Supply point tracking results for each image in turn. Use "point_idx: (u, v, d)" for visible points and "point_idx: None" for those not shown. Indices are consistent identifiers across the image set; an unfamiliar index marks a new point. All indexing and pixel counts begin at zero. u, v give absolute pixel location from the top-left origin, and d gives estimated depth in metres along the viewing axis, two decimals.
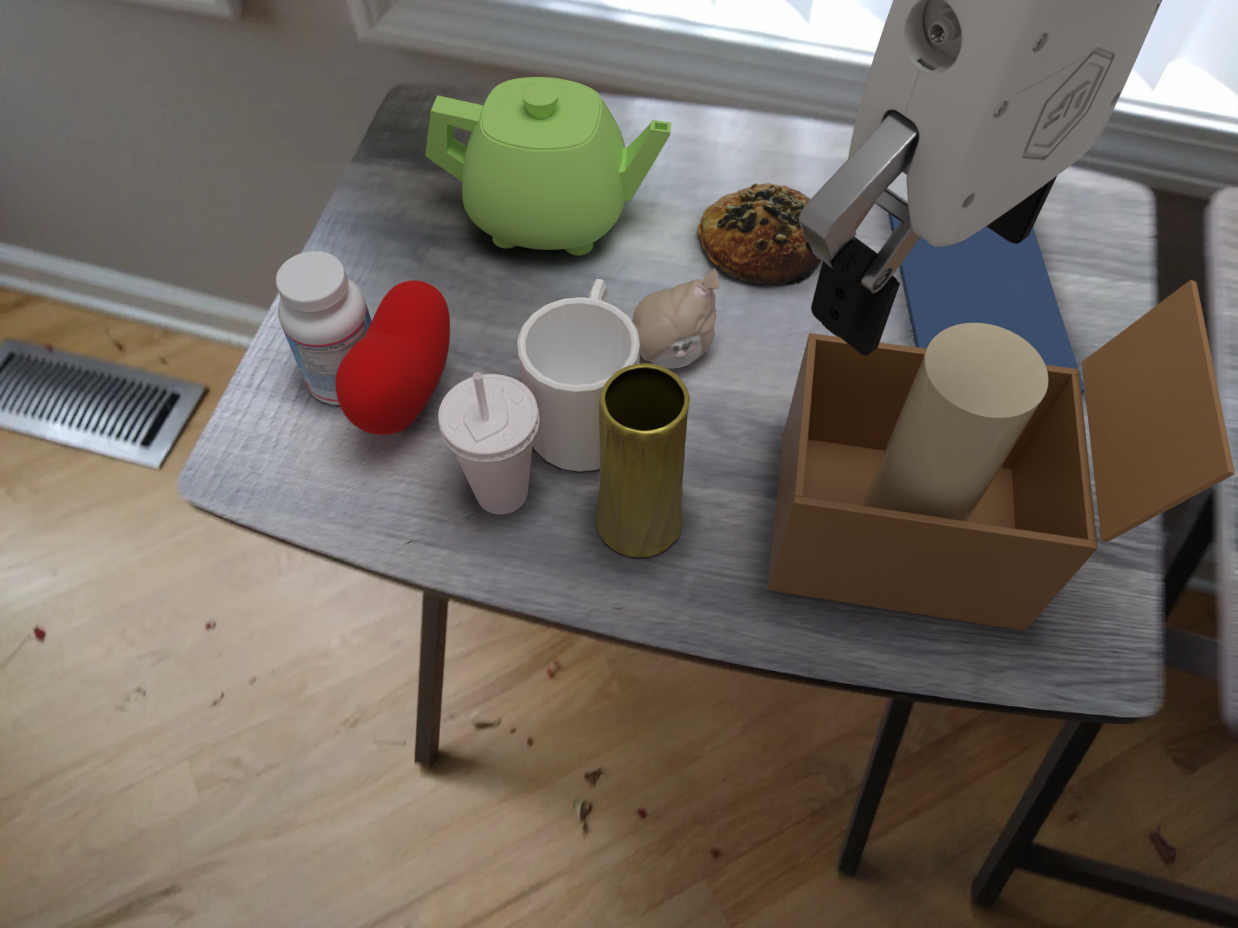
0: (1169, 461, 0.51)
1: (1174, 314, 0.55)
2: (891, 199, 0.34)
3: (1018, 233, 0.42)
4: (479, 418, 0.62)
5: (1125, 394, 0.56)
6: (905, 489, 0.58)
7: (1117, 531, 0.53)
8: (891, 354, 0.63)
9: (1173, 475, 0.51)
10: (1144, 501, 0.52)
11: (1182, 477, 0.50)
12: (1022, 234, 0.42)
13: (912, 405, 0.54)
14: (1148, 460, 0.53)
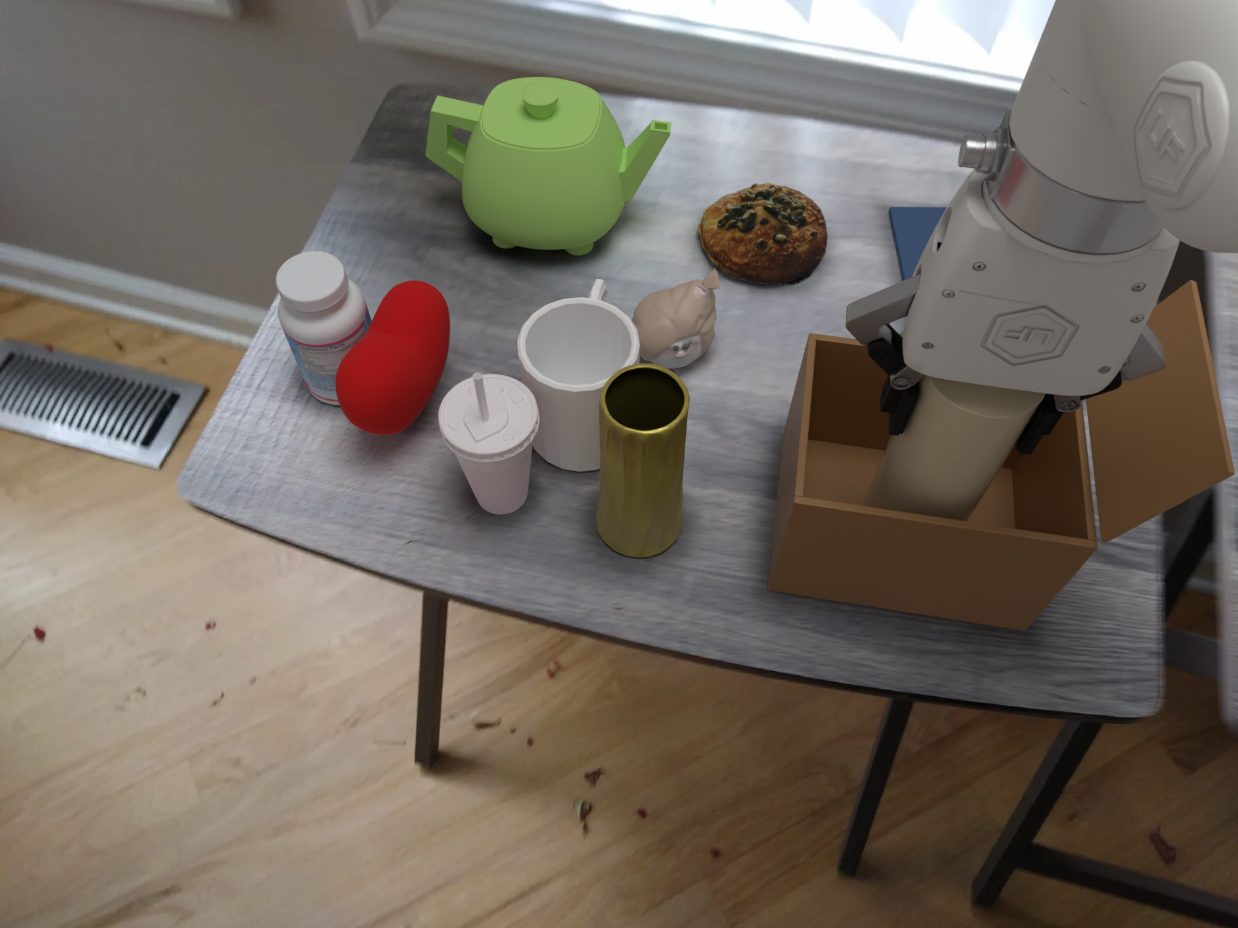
0: (1169, 461, 0.51)
1: (1174, 314, 0.55)
2: None
3: (1021, 445, 0.54)
4: (479, 418, 0.62)
5: (1125, 394, 0.56)
6: (905, 489, 0.58)
7: (1117, 531, 0.53)
8: None
9: (1173, 475, 0.51)
10: (1144, 501, 0.52)
11: (1182, 477, 0.50)
12: (1024, 448, 0.54)
13: None
14: (1148, 460, 0.53)
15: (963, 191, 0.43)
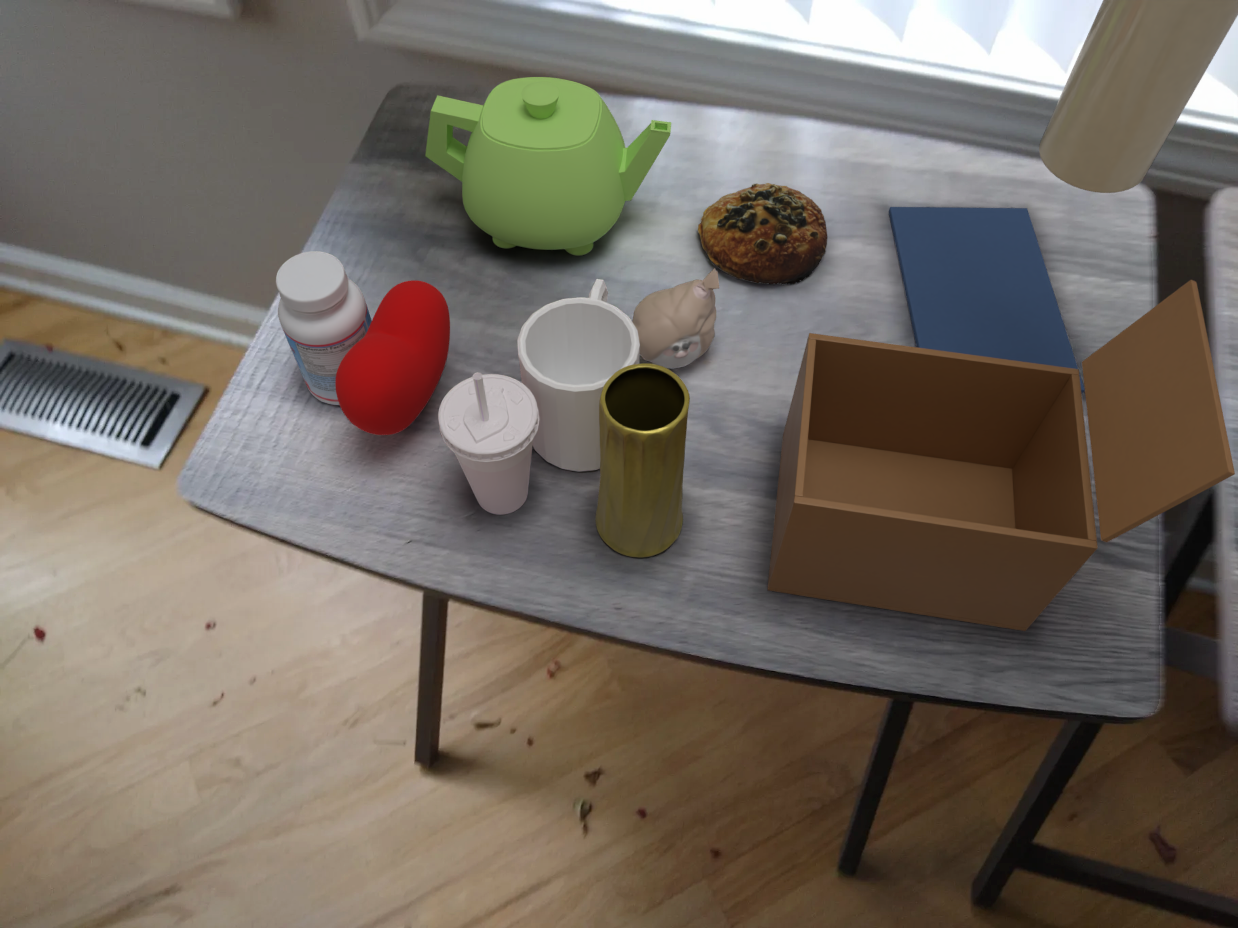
0: (1169, 461, 0.51)
1: (1174, 314, 0.55)
2: None
3: None
4: (479, 418, 0.62)
5: (1125, 394, 0.56)
6: (1139, 22, 0.50)
7: (1117, 531, 0.53)
8: (891, 354, 0.63)
9: (1173, 475, 0.51)
10: (1144, 501, 0.52)
11: (1182, 477, 0.50)
12: None
13: None
14: (1148, 460, 0.53)
15: None
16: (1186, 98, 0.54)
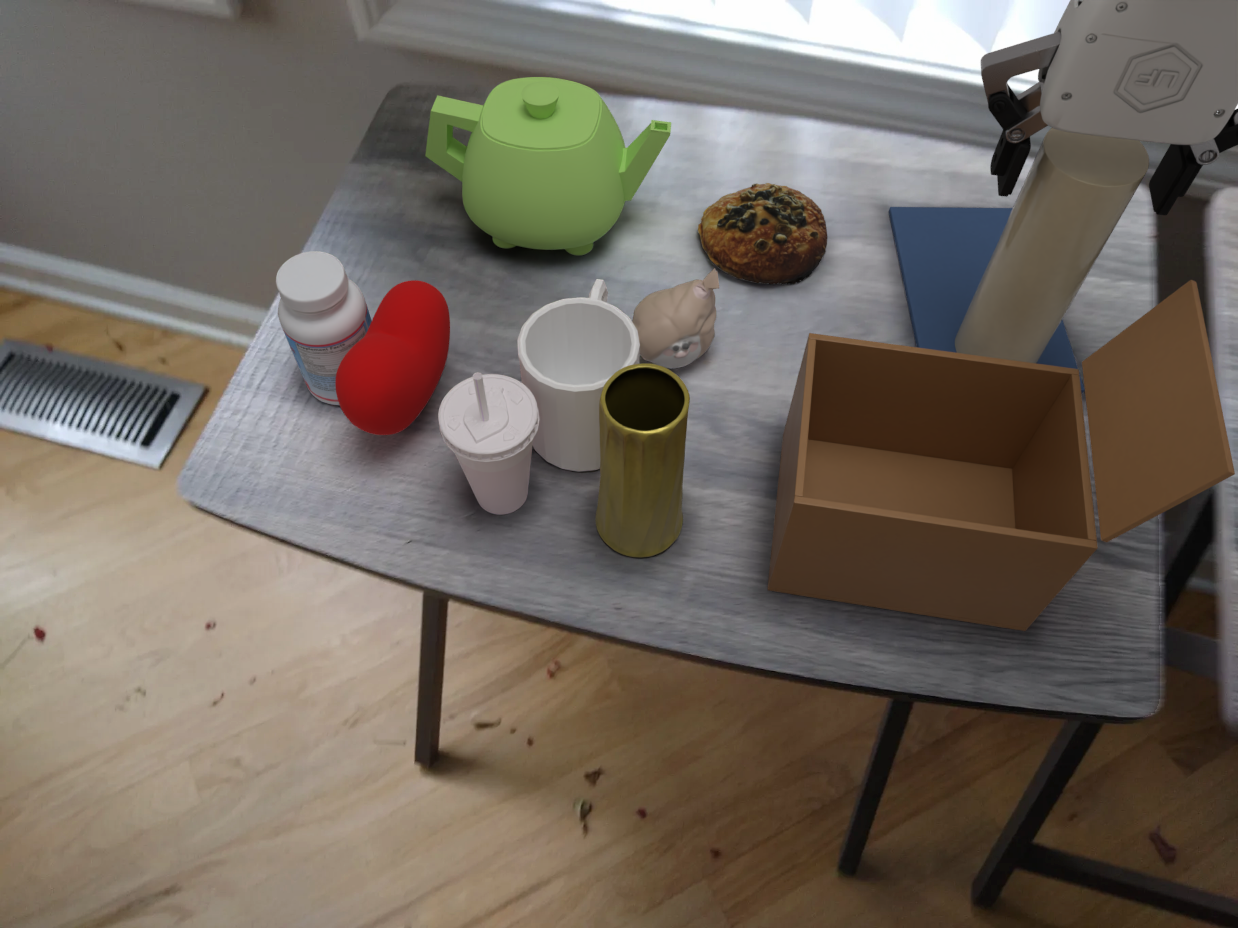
0: (1169, 461, 0.51)
1: (1174, 314, 0.55)
2: None
3: (1159, 205, 0.62)
4: (479, 418, 0.62)
5: (1125, 394, 0.56)
6: (1017, 275, 0.67)
7: (1117, 531, 0.53)
8: (891, 354, 0.63)
9: (1173, 475, 0.51)
10: (1144, 501, 0.52)
11: (1182, 477, 0.50)
12: (1162, 208, 0.62)
13: (1029, 191, 0.63)
14: (1148, 460, 0.53)
15: None
16: (1058, 321, 0.71)
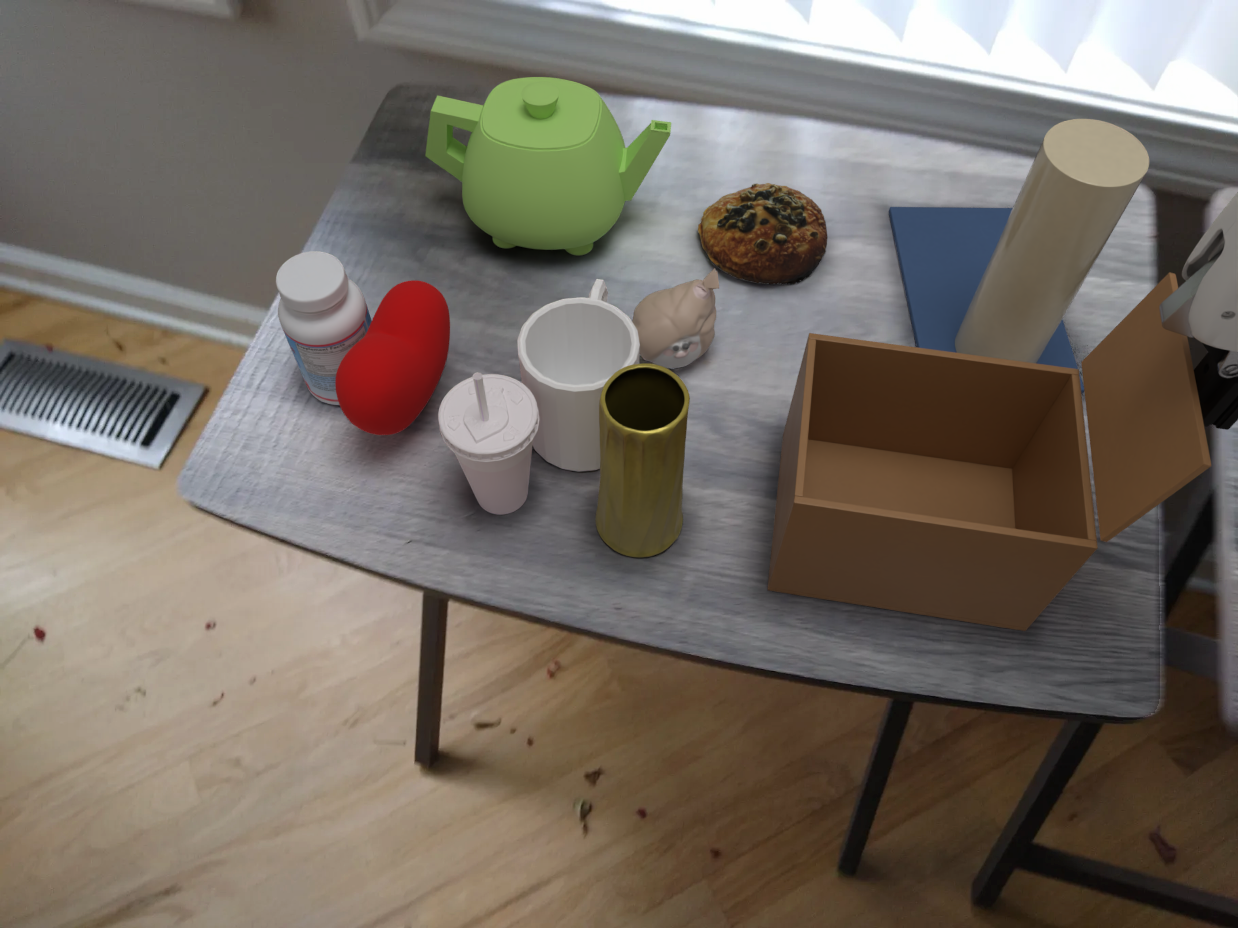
0: (1155, 457, 0.51)
1: (1156, 308, 0.55)
2: None
3: (1219, 419, 0.52)
4: (479, 418, 0.62)
5: (1117, 392, 0.56)
6: (1017, 275, 0.67)
7: (1113, 530, 0.53)
8: (891, 354, 0.63)
9: (1158, 471, 0.51)
10: (1135, 498, 0.52)
11: (1166, 472, 0.50)
12: (1223, 423, 0.52)
13: (1029, 191, 0.63)
14: (1137, 457, 0.53)
15: None
16: (1058, 321, 0.71)
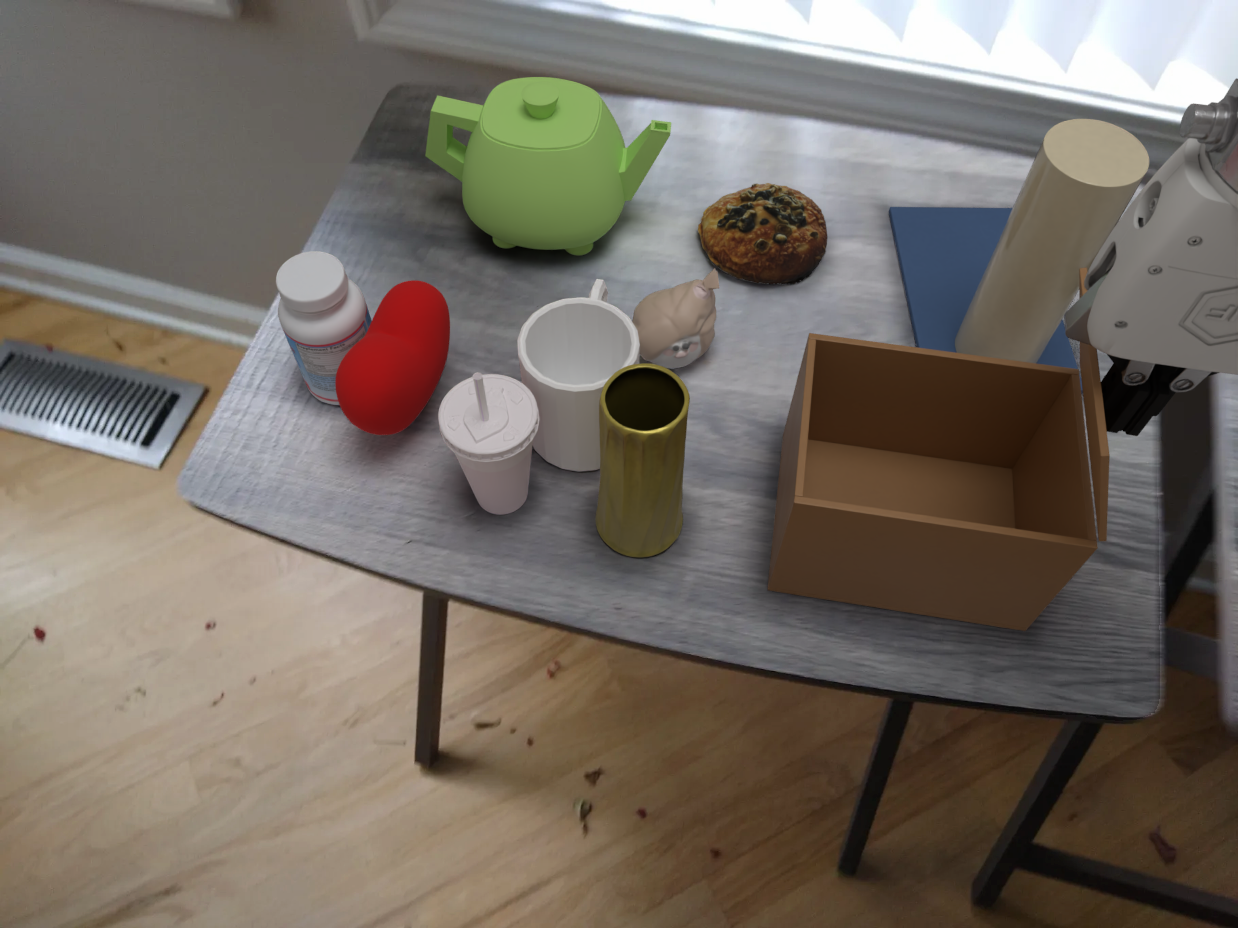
0: (1095, 453, 0.52)
1: None
2: None
3: (1128, 426, 0.54)
4: (479, 418, 0.62)
5: None
6: (1017, 275, 0.67)
7: (1099, 530, 0.54)
8: (891, 354, 0.63)
9: (1097, 466, 0.51)
10: (1097, 496, 0.53)
11: (1098, 467, 0.51)
12: (1131, 429, 0.54)
13: (1029, 191, 0.63)
14: (1094, 454, 0.53)
15: (1177, 164, 0.42)
16: (1058, 321, 0.71)
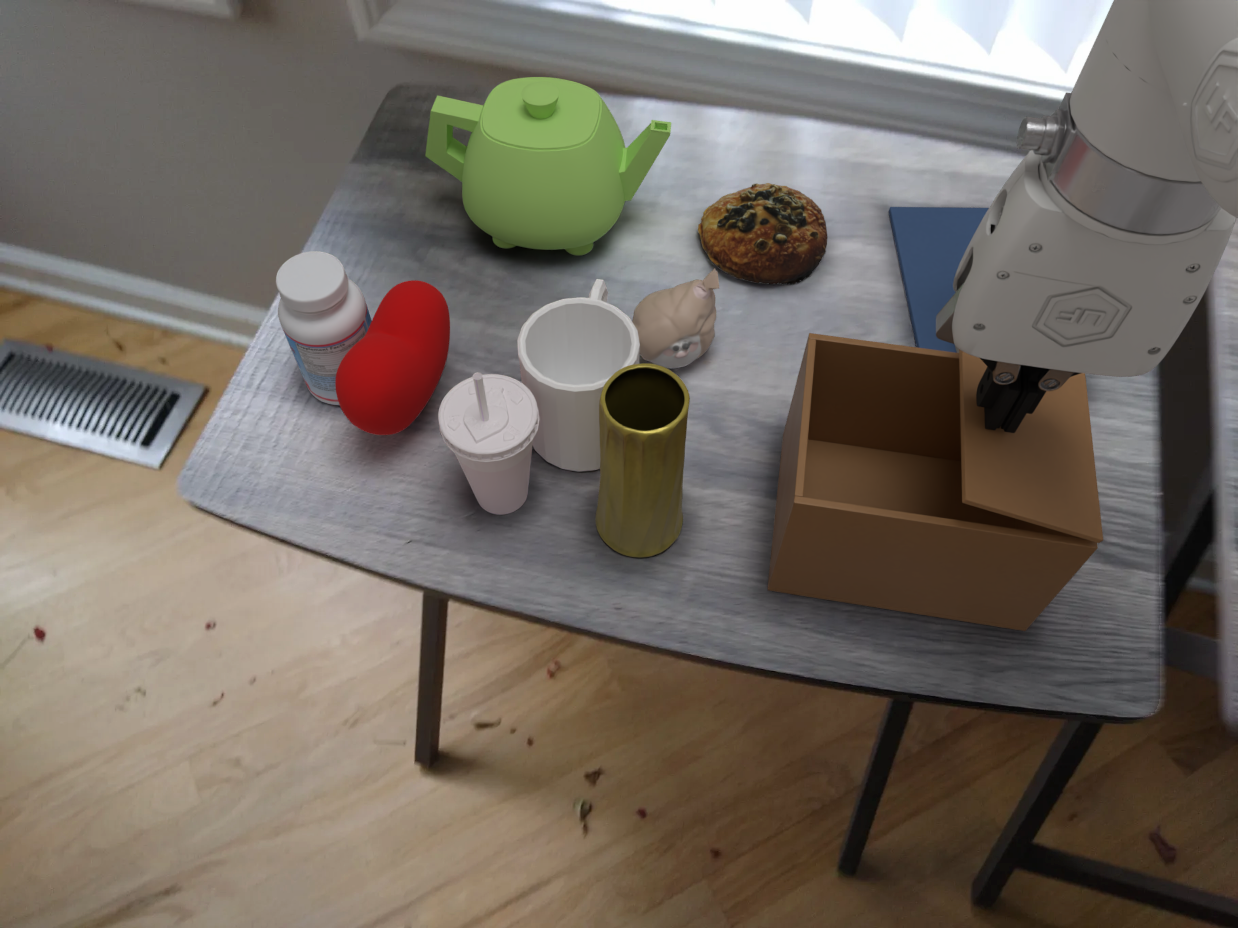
0: None
1: None
2: None
3: None
4: (479, 418, 0.62)
5: None
6: None
7: None
8: (891, 354, 0.63)
9: None
10: None
11: None
12: (1008, 426, 0.56)
13: None
14: None
15: (1019, 173, 0.44)
16: None
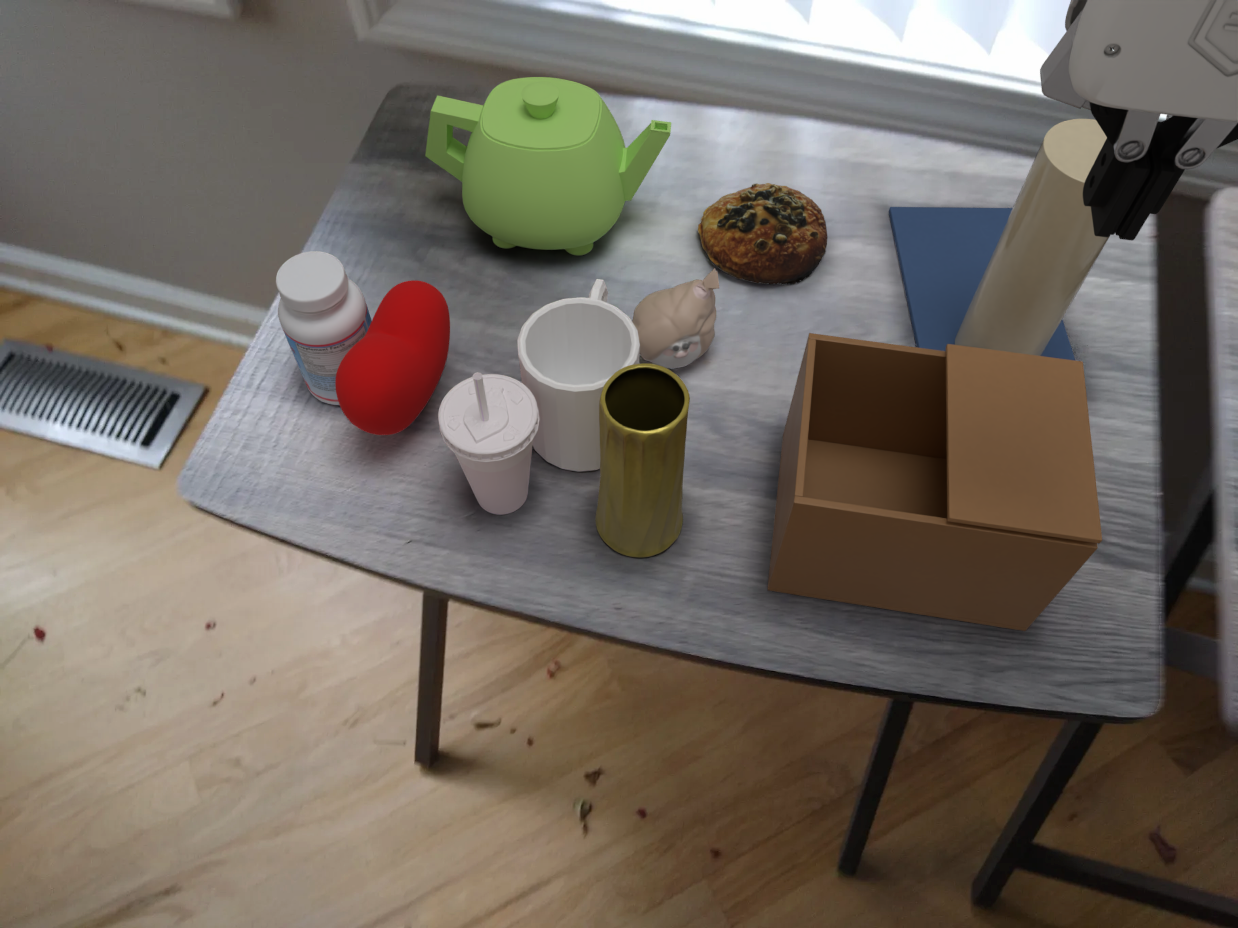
0: None
1: None
2: None
3: (1123, 226, 0.43)
4: (479, 418, 0.62)
5: None
6: (1017, 275, 0.67)
7: (1077, 539, 0.55)
8: (891, 354, 0.63)
9: None
10: None
11: None
12: (1127, 230, 0.43)
13: (1029, 191, 0.63)
14: None
15: None
16: (1058, 321, 0.71)
